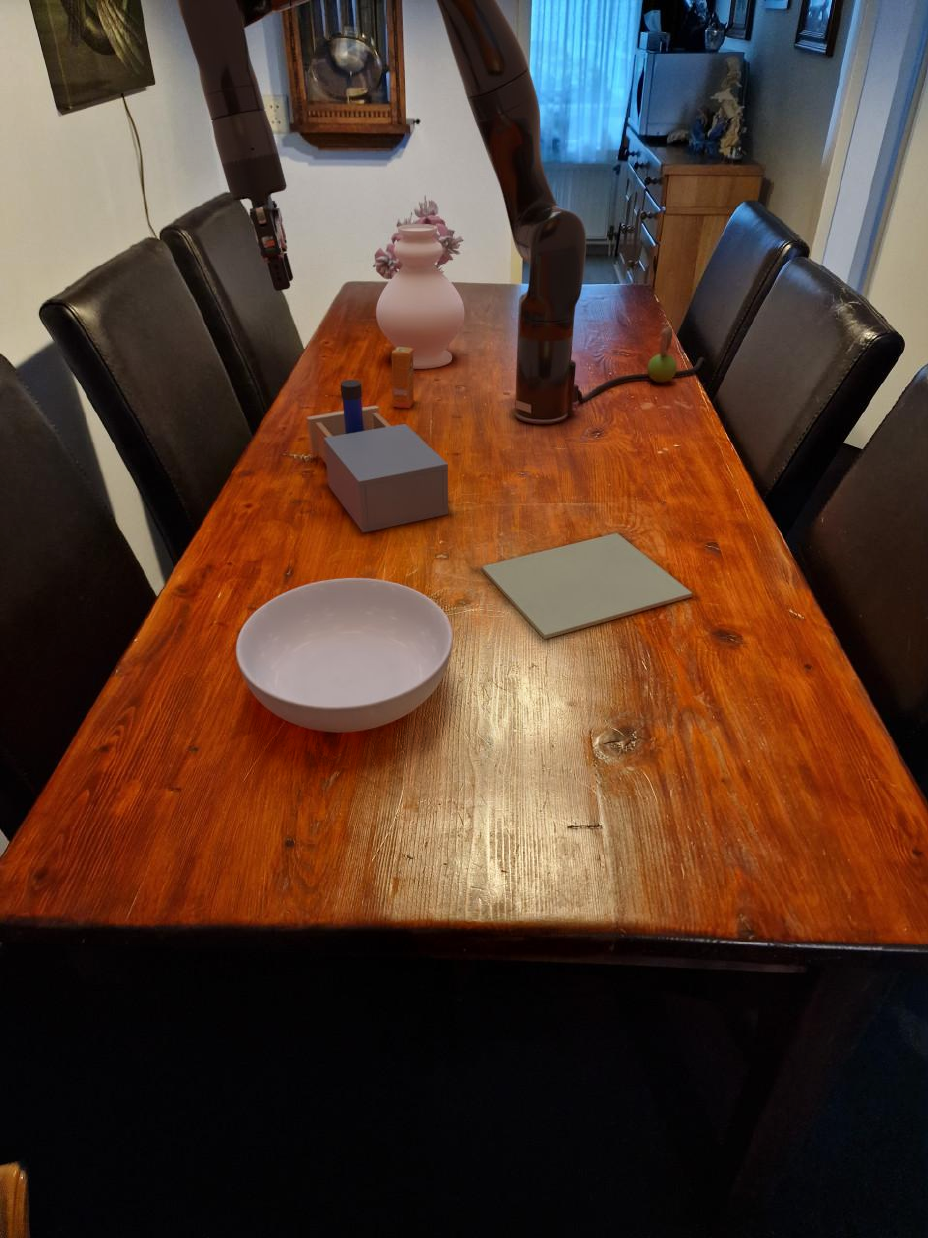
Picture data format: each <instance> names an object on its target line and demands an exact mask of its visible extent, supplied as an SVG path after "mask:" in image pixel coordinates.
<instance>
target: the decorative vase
mask: <svg viewBox="0 0 928 1238" xmlns="http://www.w3.org/2000/svg"><path fill="white" fill-rule="evenodd" d="M397 233H400V234H402V235H403V237H402V238H401V239H400V240H399V241H398V242H397V241H396V243H395V244H396V245H395V247H394V254H395V256H396V258H397V259H398V260H399V261H400V262H401V263H402V264H403V266H402V267H401V268H400V269H397V271H398V272H397V273H396V274H395V275H394V276H393V277H392V279H389V280H388V282H387V284H386V285H385V287H384V288H383V290H382V291H381V294H380V296H379V298H378V300H377V303H376V308H375V317H376V318H375V319H376V324H377V325H378V327H379V329H380V331H381V332H382V334H383V335H384V336H385V338H386V339H387V340H388V341H389V343H391V344H392V345H393V347H394V348H395V349H396V347H406V348H411V349H413V369H419V370H421V369H423V370H424V369H434V368H440V367H444V366H445V365H448V364H449V363H451V362H452V361H453V355H452V353H451V352H450V351H448V350H447V348H448V347H449V346H450V345H451V343H452V342H453V341H454V339H455V338H456V337H457V335H458V334H459V332H461V331H460V330H461V329H462V327H463V325H464V322H465V314H466V313H465V306H464V302H463V299H462V297H461V295H460V293H459V291H458V290H457V289H456V287H455V285H454V284H453V283H452V282H451V280H450V279H449V278H448V277H447V276H446V275H445V274H444V272H443V273H442V271H441V269H440V268H437V267H436V266H435V265H436V264H437V262H438V261H439V259H440V257H441V256H442V253H443V248H442V245H441V244H440V242H439V241H438V240H436V239H435V238H434V237H433V234H435V233H437V234H438V230H437V226H434V225H429V224H412V223H411V224H409V225H402V226H399V227H398V228H397ZM439 269H440V270H439Z"/></svg>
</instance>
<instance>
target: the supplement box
mask: <svg viewBox="0 0 928 1238" xmlns="http://www.w3.org/2000/svg"><path fill="white" fill-rule="evenodd" d="M391 391H392V392H391V393H392V394H391V395H392V396H391V397H392V399H391V400H392V407H393V408H400V409H410V408H411V406H412V405H413V404H414V368H413V349H411V348H406V347H396V348H395V349H393V350H392V351H391Z"/></svg>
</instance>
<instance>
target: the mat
mask: <svg viewBox="0 0 928 1238" xmlns="http://www.w3.org/2000/svg"><path fill="white" fill-rule="evenodd" d="M481 571H482V572H483V574H485V575H486V577H487V578H488V579H489V580H490V581H491V583H492V584H493V585H495V586H496V588H497V589H498V590H499V591H500V592H501V593H502V594H503V595H504V597H505V598H506V599H507V600H508V602H510V603H511V605H513V606H514V607H515V609H516V610H517V611H518V612H519V614H521V615H522V616H523V618H525V620H526V621H527V622H528V623H529V624H530V625H531V626H532V627H533V628H534V629H535V631H537V633H538V634H539V635H540V636H541V637H542V638H543V639H544V640H549V639H551V638H554V637H558V636H561V635H564V634H569V633H572V632H575V631H578V630H582V629H586V628H589V627H592V626H596V625H600V624H603V623H606V622H610V621H613V620H617V619H621V618H623V617H627V616H631V615H634V614H638V613H640V612H644V611H649V610H650V609H655V608H658V607H661V606H665V605H669V604H671V603H675V602H679V601H682V600H686V599H690V598H692V597H693V592H692V591H691V590H690V589H688V588H687V587H686V586H684V585H683V584H682V583H680V581H678V580H677V579H676V578H675V577H674V576H672V575H670V573H668V572H667V571H666V570H665V569H663V568H662V567H661V566H659V565H658V564H657V563H655V562H654V560H652V559H650V558H649V557H648V556H647V555H645V553H643V552H642V551H640V550H639V549H638V548H636V547H635V546H634V545H633V544H632V543H631V542H629V541H628V540H627V539H626V538H625V537H623V536H622V535H620V534H619V533H618V532H615V533H611V534H606V535H603V536H599V537H594V538H591V539H587V540H586V539H585V540H583V541H578V542H574V543H570V544H566V545H563V546H558V547H554V548H550V549H546V550H542V551H541V550H540V551H538V552H533V553H529V554H526V555H521V556H517V557H513V558H509V559H505V560H501V561H497V562H494V563H489V564H485V565H481Z"/></svg>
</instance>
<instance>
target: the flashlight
mask: <svg viewBox="0 0 928 1238" xmlns="http://www.w3.org/2000/svg"><path fill="white" fill-rule="evenodd" d="M362 390H363V389H362V382H361V381H360V380H357V379H346V380H342V381H341V382H340V394H341V399H342V408H343V410H342V411H344V421H345V432H346V434H350V433H356V432H361V431H364V424H363V411H362V408H363V402H362V401H363V400H362V399H363V398H362V397H363V391H362Z"/></svg>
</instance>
